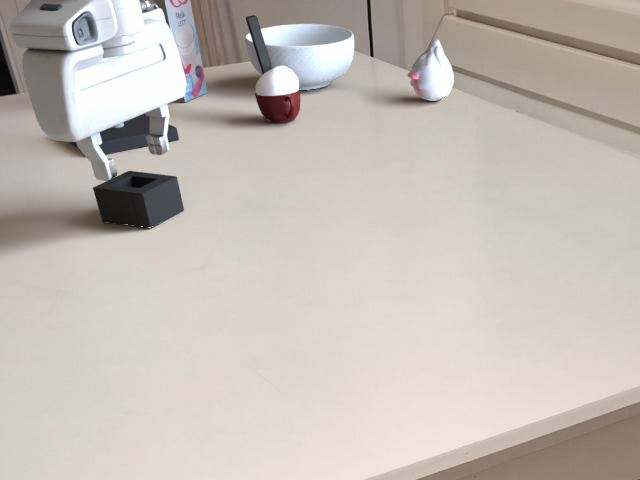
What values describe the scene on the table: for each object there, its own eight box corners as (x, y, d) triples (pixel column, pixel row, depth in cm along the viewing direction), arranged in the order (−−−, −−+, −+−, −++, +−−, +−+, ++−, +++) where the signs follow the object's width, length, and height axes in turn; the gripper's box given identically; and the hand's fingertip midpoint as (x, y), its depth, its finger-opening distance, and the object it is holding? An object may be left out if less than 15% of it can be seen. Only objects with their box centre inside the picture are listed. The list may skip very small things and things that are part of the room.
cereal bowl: (235, 95, 142) (226, 41, 137) (276, 71, 154) (269, 22, 149) (337, 100, 139) (332, 46, 134) (371, 76, 151) (367, 25, 146)
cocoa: (305, 126, 128) (292, 25, 120) (260, 129, 127) (244, 28, 119) (300, 110, 135) (288, 13, 127) (258, 112, 134) (243, 15, 126)
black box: (151, 229, 98) (142, 193, 96) (102, 222, 100) (92, 187, 97) (184, 210, 103) (177, 176, 100) (137, 204, 104) (128, 170, 102)
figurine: (402, 99, 139) (398, 37, 134) (443, 94, 142) (441, 33, 136) (419, 108, 135) (416, 45, 130) (461, 103, 137) (460, 41, 132)
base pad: (94, 156, 118) (83, 113, 115) (60, 137, 125) (48, 96, 121) (179, 139, 124) (170, 98, 120) (142, 122, 130) (132, 82, 127)
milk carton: (207, 92, 143) (174, -85, 128) (185, 102, 139) (148, -80, 124) (171, 90, 145) (134, -86, 130) (147, 99, 140) (106, -81, 125)
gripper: (132, -7, 96) (166, 137, 105) (-5, 29, 82) (48, 191, 92) (182, -5, 94) (212, 141, 104) (51, 32, 80) (99, 197, 90)
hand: (134, 165), depth 98 cm, fingers open, 8 cm apart
